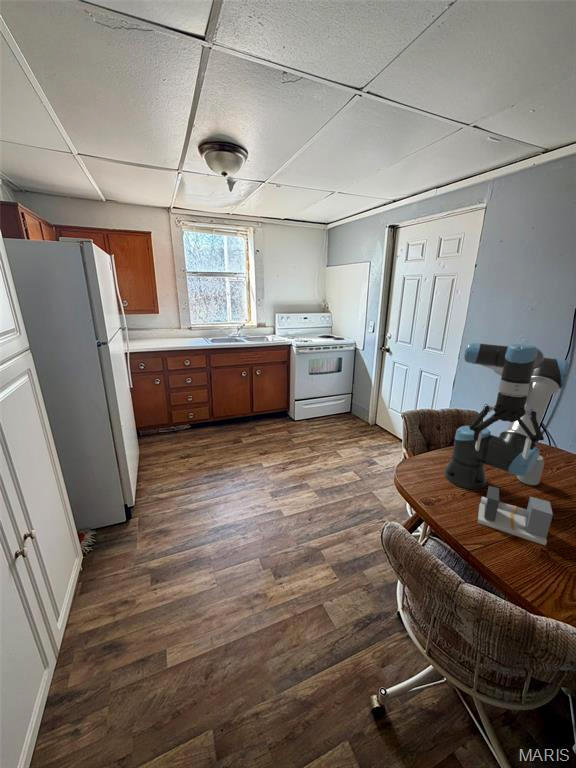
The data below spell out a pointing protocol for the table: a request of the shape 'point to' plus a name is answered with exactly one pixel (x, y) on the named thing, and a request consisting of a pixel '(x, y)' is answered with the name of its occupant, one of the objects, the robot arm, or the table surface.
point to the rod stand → (521, 519)
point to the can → (533, 473)
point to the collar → (491, 503)
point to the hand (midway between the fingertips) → (500, 453)
